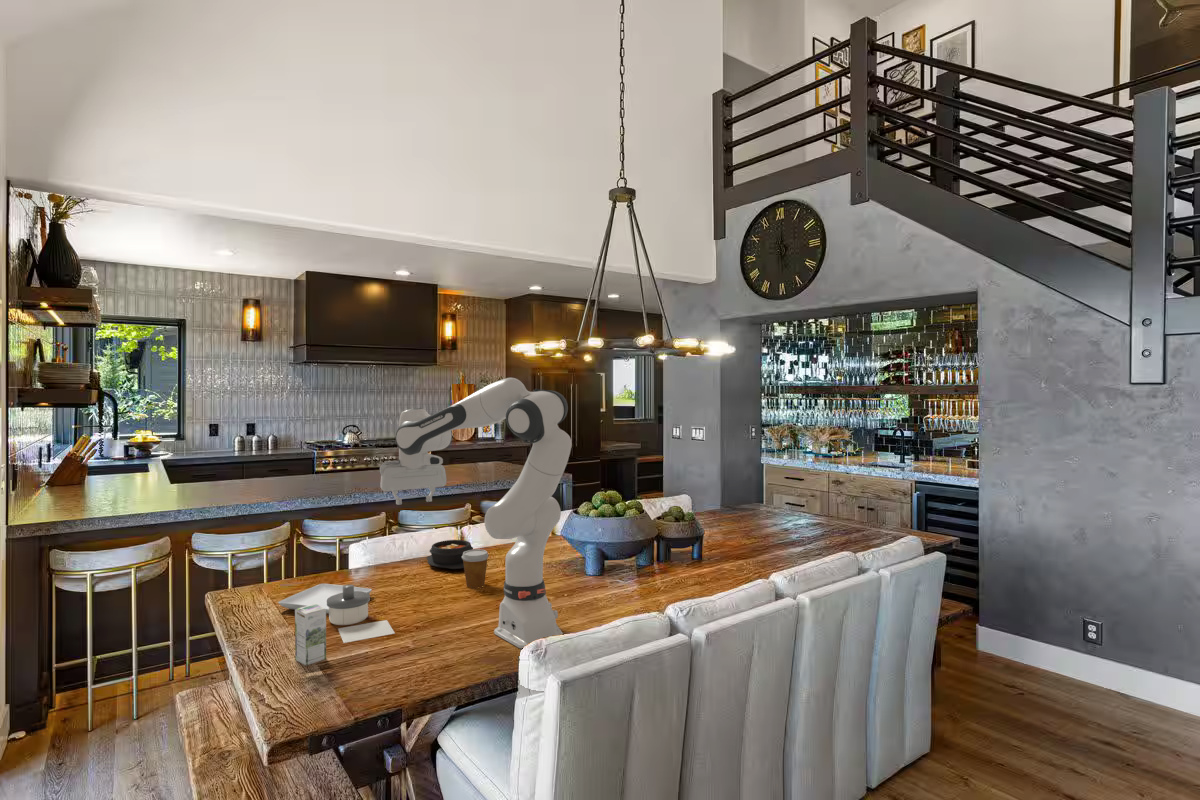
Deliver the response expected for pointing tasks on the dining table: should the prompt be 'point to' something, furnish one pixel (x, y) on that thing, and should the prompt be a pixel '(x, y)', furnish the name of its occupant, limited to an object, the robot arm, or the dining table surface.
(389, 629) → the mat
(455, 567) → the casserole
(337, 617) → the bowl
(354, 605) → the lid
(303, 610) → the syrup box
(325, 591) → the salad plate
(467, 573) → the disposable coffee cup
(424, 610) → the dining table surface
